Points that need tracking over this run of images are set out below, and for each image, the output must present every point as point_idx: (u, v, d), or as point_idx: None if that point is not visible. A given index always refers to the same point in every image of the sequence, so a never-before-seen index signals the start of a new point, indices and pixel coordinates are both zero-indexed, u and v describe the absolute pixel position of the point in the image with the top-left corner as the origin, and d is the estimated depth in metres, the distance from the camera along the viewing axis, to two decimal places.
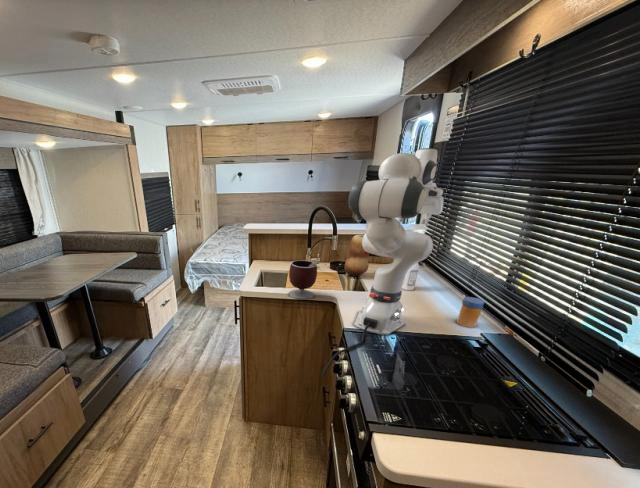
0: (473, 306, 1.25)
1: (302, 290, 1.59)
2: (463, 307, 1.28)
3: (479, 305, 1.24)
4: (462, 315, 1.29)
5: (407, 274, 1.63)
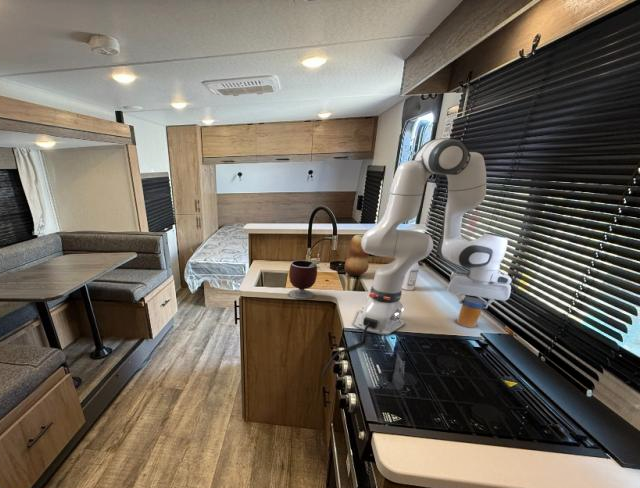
0: (473, 306, 1.25)
1: (302, 290, 1.59)
2: (463, 307, 1.28)
3: (479, 305, 1.24)
4: (462, 315, 1.29)
5: (407, 274, 1.63)
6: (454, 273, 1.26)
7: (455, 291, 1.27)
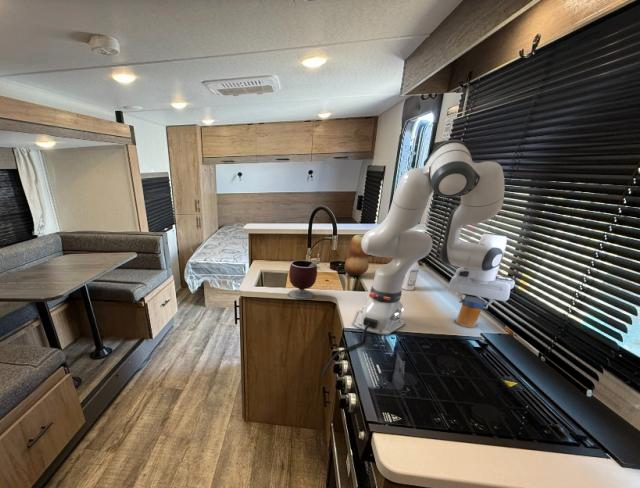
0: None
1: (302, 290, 1.59)
2: (464, 307, 1.27)
3: None
4: (463, 316, 1.28)
5: (407, 274, 1.63)
6: None
7: None
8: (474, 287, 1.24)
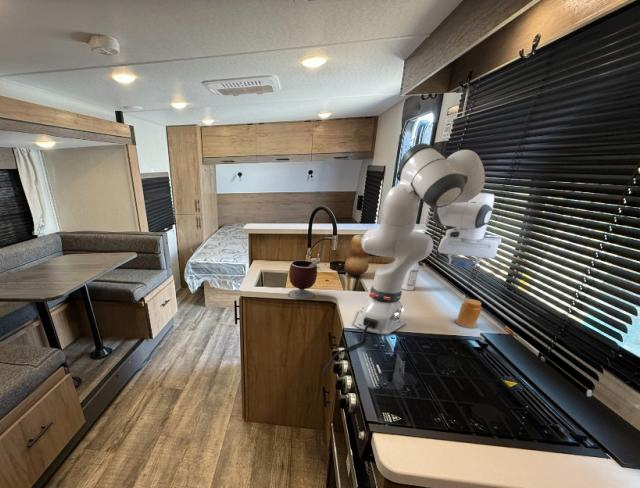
0: None
1: (302, 290, 1.59)
2: (464, 308, 1.27)
3: None
4: (463, 317, 1.28)
5: (407, 274, 1.63)
6: None
7: None
8: (464, 246, 1.28)
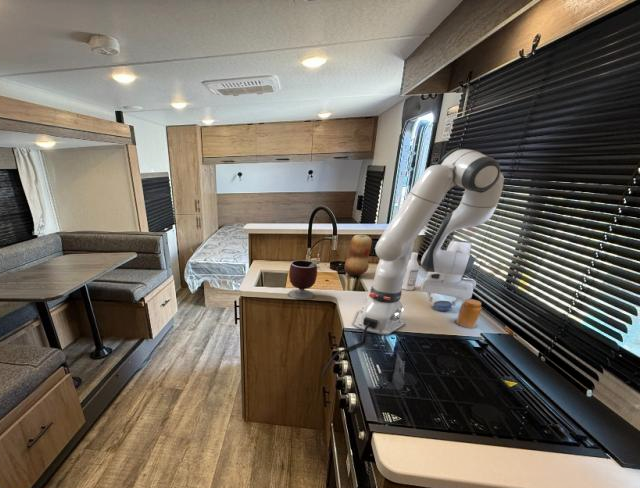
0: None
1: (302, 290, 1.59)
2: (464, 308, 1.27)
3: None
4: (463, 317, 1.28)
5: (407, 274, 1.63)
6: None
7: None
8: (443, 287, 1.40)
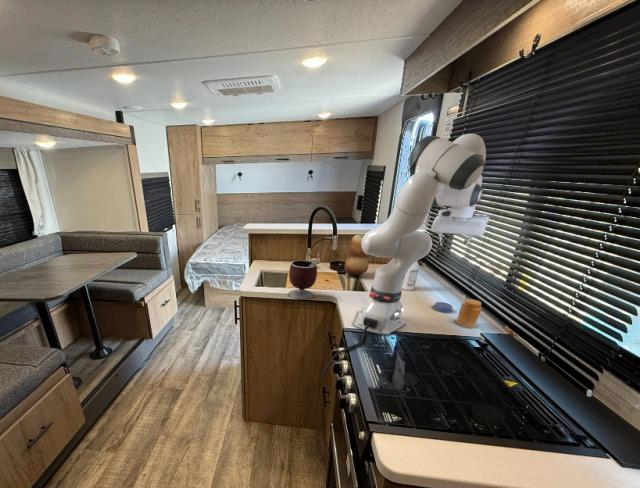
0: None
1: (302, 290, 1.59)
2: (464, 308, 1.27)
3: None
4: (463, 317, 1.28)
5: (407, 274, 1.63)
6: None
7: None
8: (454, 225, 1.37)
